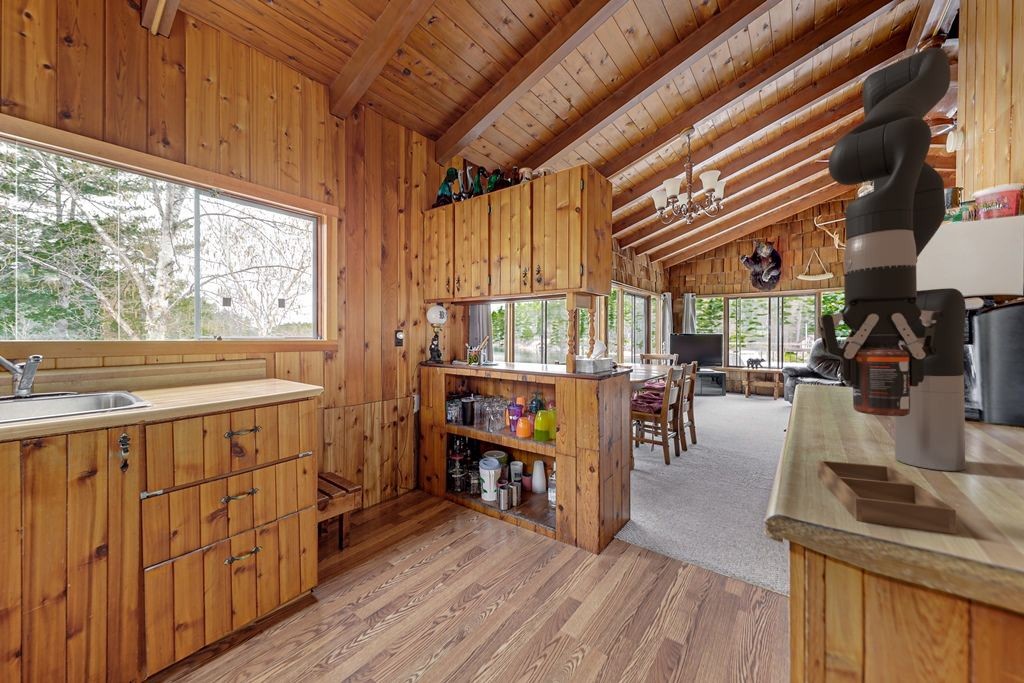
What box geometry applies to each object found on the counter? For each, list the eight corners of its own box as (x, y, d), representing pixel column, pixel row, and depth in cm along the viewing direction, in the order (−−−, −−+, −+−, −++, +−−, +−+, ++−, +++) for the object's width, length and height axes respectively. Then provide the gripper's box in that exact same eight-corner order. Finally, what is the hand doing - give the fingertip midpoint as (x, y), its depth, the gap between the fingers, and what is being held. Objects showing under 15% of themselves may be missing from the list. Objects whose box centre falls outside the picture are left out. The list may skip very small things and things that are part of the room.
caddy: (817, 476, 69) (817, 460, 69) (890, 484, 65) (889, 466, 65) (856, 520, 53) (856, 498, 53) (955, 533, 49) (955, 510, 49)
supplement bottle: (922, 418, 52) (921, 333, 52) (870, 416, 53) (869, 334, 53) (889, 410, 58) (889, 334, 58) (843, 409, 59) (842, 335, 59)
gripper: (933, 267, 56) (934, 384, 56) (809, 276, 62) (811, 381, 62) (965, 257, 49) (967, 390, 49) (823, 268, 55) (825, 386, 55)
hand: (880, 384), depth 56 cm, fingers closed on supplement bottle, 6 cm apart
